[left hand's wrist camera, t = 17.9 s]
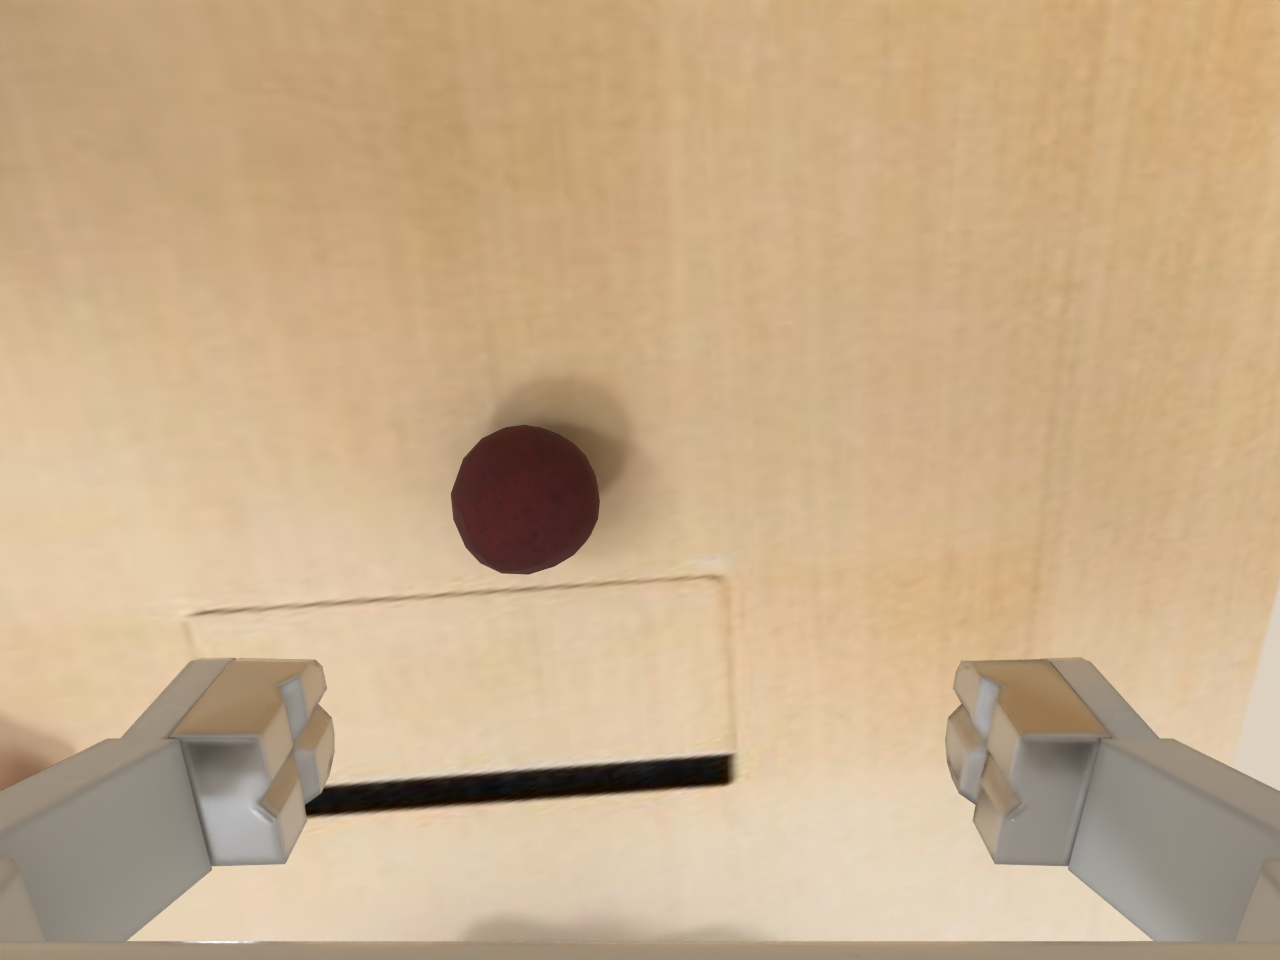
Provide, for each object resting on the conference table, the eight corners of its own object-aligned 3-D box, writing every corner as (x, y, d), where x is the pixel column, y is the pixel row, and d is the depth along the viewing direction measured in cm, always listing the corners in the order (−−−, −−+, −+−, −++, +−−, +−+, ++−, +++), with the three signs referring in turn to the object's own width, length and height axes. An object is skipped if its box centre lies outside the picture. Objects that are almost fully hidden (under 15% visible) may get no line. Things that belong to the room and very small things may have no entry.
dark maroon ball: (627, 493, 45) (625, 550, 39) (511, 558, 47) (491, 623, 40) (554, 383, 43) (538, 424, 36) (435, 455, 44) (399, 506, 38)
